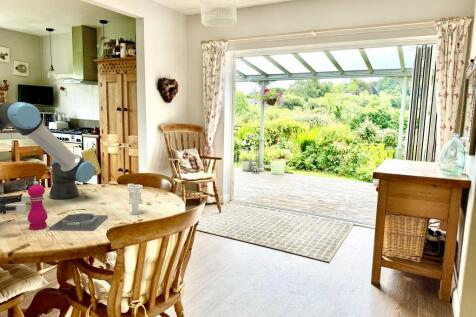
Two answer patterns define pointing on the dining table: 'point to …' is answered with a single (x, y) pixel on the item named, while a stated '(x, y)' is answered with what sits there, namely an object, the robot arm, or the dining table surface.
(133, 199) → the white blocky figurine
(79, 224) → the collar plate
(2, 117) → the robot arm
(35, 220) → the pepper mill
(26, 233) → the dining table surface
